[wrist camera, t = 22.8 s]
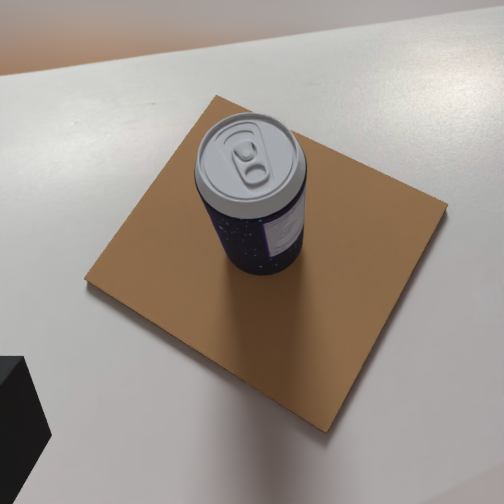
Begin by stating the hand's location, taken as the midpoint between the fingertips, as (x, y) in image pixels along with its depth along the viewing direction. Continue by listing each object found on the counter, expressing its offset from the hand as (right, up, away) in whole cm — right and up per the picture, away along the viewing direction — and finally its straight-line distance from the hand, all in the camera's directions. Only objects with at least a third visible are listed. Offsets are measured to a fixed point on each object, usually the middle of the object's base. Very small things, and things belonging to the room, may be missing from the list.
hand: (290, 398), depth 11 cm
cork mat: (0, +4, +22) cm, 23 cm away
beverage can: (0, +4, +22) cm, 22 cm away
